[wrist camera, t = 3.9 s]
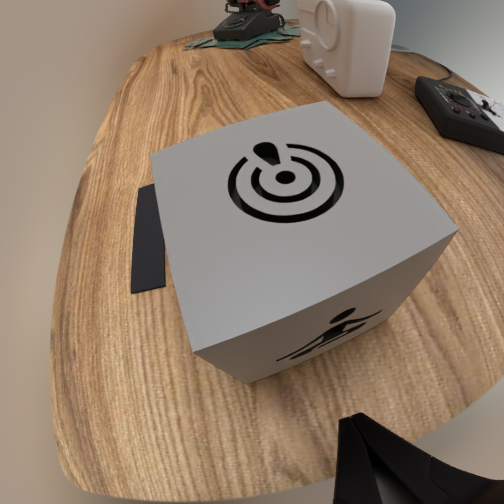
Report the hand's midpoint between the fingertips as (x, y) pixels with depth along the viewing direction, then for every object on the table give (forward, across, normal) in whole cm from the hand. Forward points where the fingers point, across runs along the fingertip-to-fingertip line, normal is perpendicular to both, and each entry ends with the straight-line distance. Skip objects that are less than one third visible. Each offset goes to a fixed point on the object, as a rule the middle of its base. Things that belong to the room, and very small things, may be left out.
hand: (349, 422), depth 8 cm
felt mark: (+18, +10, -7) cm, 21 cm away
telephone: (+66, -13, -55) cm, 86 cm away
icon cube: (+12, 0, -1) cm, 12 cm away
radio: (+35, -18, -24) cm, 46 cm away
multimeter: (+23, -36, -12) cm, 44 cm away
